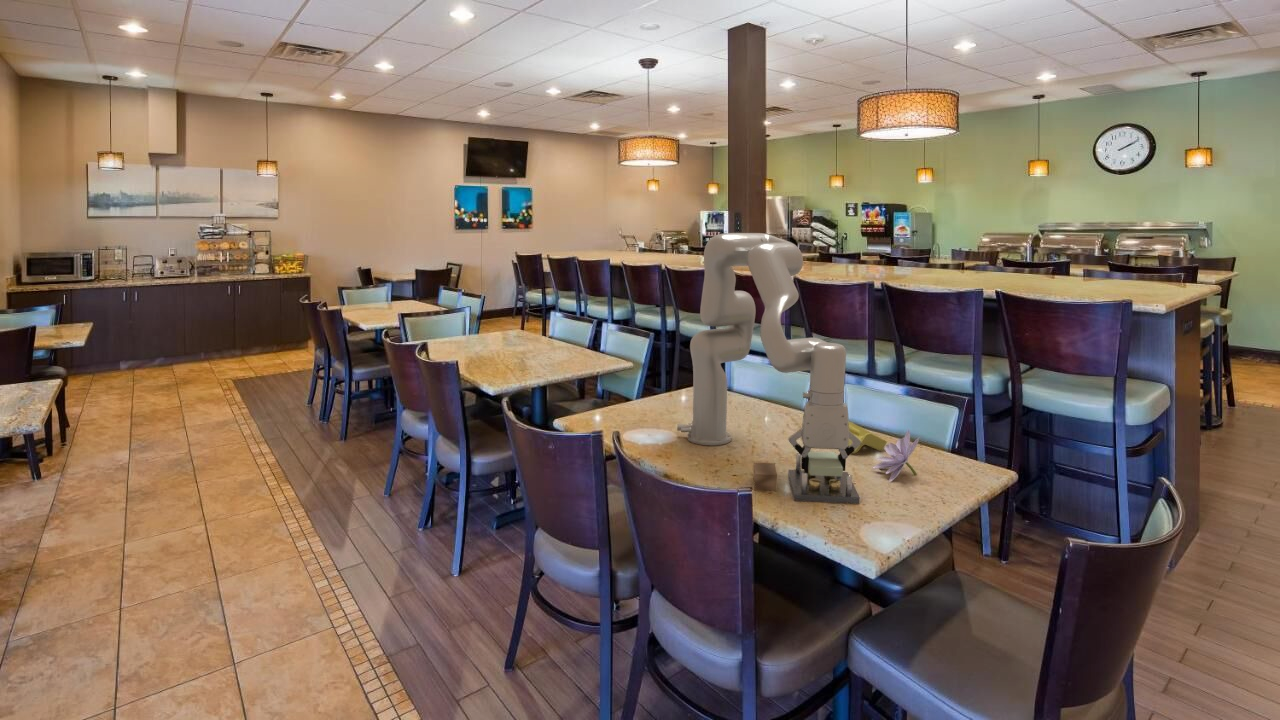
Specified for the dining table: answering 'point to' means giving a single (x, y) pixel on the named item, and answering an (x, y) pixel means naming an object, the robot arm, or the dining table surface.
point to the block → (765, 477)
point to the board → (824, 464)
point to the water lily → (898, 456)
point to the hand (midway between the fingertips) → (822, 472)
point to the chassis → (821, 486)
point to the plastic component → (866, 438)
